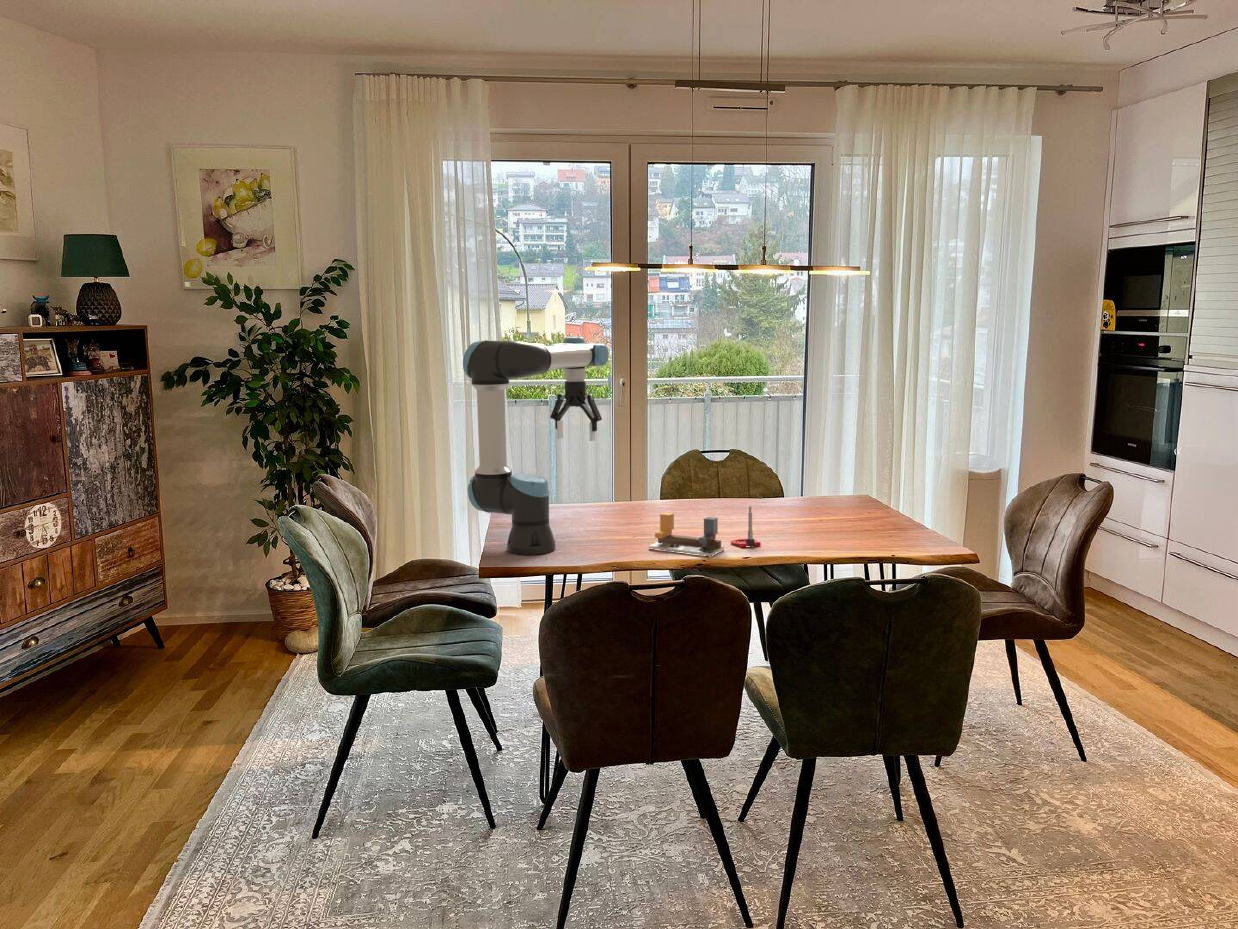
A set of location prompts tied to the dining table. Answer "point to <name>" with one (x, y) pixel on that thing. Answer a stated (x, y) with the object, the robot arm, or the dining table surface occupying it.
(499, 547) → the dining table surface
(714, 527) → the fixed leg
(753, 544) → the tow hook
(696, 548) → the bolt plate
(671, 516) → the orange toy chair
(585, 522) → the dining table surface
